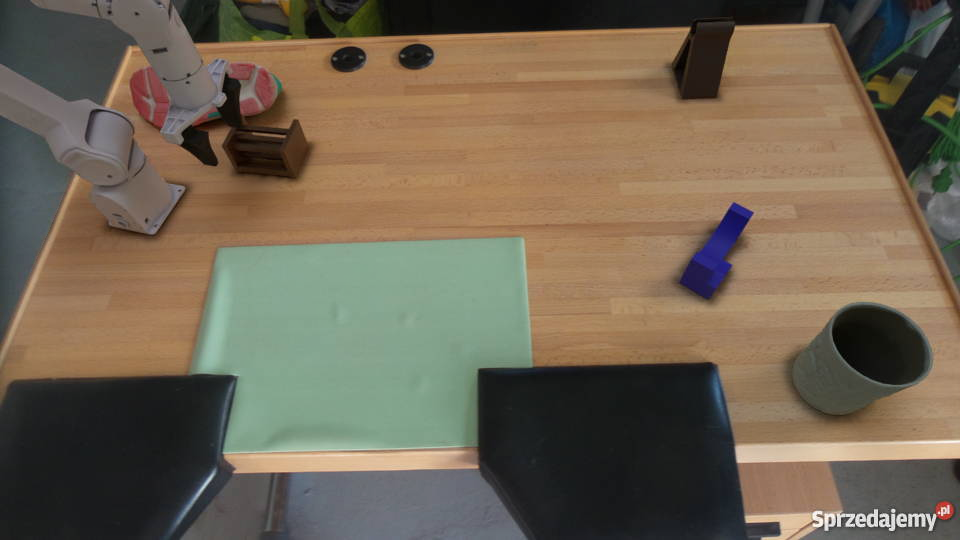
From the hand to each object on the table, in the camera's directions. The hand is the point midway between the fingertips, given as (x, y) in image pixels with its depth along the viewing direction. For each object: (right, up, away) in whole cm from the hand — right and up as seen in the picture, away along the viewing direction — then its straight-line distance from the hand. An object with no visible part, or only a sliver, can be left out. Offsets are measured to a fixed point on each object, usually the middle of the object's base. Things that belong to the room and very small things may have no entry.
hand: (223, 144), depth 82 cm
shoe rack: (+3, 0, +11) cm, 11 cm away
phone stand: (+75, +15, +19) cm, 79 cm away
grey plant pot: (+80, -32, -11) cm, 87 cm away
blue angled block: (+70, -17, -2) cm, 72 cm away
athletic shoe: (-10, +9, +18) cm, 22 cm away
